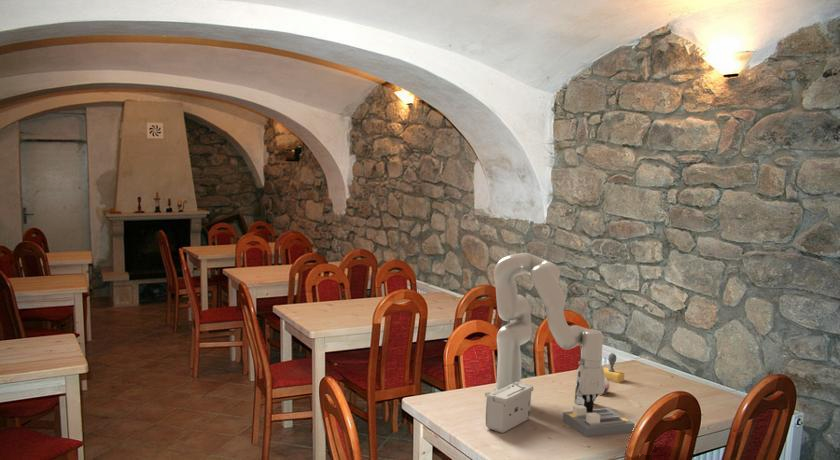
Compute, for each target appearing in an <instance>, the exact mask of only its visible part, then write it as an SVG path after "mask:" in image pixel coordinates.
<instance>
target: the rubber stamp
mask: <svg viewBox="0 0 840 460" xmlns="http://www.w3.org/2000/svg"><path fill="white" fill-rule="evenodd" d="M616 361H617V355H616V354H615V353H610V354H608V363H609V365H610V367H609V368H608V367H603V369H604V376H605V378H606V379H607V380H608V381H611V382H613V381H614V383H618V384H619V383H621V382H623V381H624V382H625V372H623V371H619V370H616V369H614V366H615V363H616Z"/></svg>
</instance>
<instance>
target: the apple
mask: <svg viewBox="0 0 840 460" xmlns="http://www.w3.org/2000/svg"><path fill="white" fill-rule="evenodd" d="M609 381H610V380H607V379H606V378H605V390H604V392H603V393H602V395H604V394H606V393H607V392H609V390H610V382H609Z"/></svg>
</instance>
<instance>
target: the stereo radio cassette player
mask: <svg viewBox="0 0 840 460" xmlns="http://www.w3.org/2000/svg"><path fill="white" fill-rule="evenodd" d="M505 380H507V379H506V378H505ZM507 381H509V380H507ZM509 382H511V381H509ZM511 383H513V382H511ZM533 391H534V385H530V384H528V383H523V382H521V381H520V382H515V383H513V384H510V385H508V386H506V387H504V388H502V389H499V390H497V391H495V392H493V393H490V394H488V395H487V397H486V401H485V402H486V404H485V426H486V428H488V429H489V430H492V431H495V432H499V433H501V434H504V433H506V432H507V431H509V430H511V429H512V428H514V427H516V426H519V425H521V424H522V423H524V422H525V421H527V420H530V416H531V402H532V392H533Z"/></svg>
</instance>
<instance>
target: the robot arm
mask: <svg viewBox="0 0 840 460" xmlns="http://www.w3.org/2000/svg"><path fill="white" fill-rule="evenodd" d="M525 274H526V275H528V276H529V277H530V279H531V282H532V283H533V286H534V288H535V289H536V291H537V293H538V295H539V297H540V299H541V301H542V303H543V306H544V307H545V315H546V321H547V326H548V329H549V331H550V333H551V335H552V337H553V339H554V341H555V343H556V344H557V346H559V347H560V348H562V349H563V350H572V349H574V348H575V347H578V346H580V347H581V349H580V350H581V351H580V352H581V353H580V360H578V361H577V363H578V368H577V369H578V373H577V372H576V377H577V379H575V390H576V391H577V393H576V395H577V396H578V397H582V398H583V399H584V405H583V406H585V407H586V408H587V410H586V411H588V412H593V409H594V404H595V403H594V402H595V401H596V399H597V397H598V396H601V395H603V394H602V393H603V392H604V393H605V391H604V390H605V376H604V369H603V368H604V366H602V363H603V362H602V361H603V341H604V335H603V332H602V331H600V330H598V329H593V328H587V327H583V326H580V325H577V324H576V325H575V324H574V325H570V326H569V325H568V323H567V320H566V317H565V312H564V311H565V310H564V308H565V306H566V305H565V304H566V298H567V297H566V296H565V294H564V291H563V290H562V288H561V287H560V284H559V283H558V280H559V279H560V276H561V272H560V269H559V267H558V266H557V265H556V264H555V263H554V262H552V261H549V260H547V259H544V258H541V257H539V256H537V255H535V254H532V253H529V252H520V253H512V254H509V255H506V256H504V257H503V258H501V259H499V261H498V262H497V263H496V264H495V267H494V270H493V277H494V284H495V296H496V299H495V300H496V308H497V310H496V311H497V314H498V317H499V318H500V319H501V320H502V321H503V322H504V321H505V322H509V323H507V324H505V325H503V326H501V327H500V328H499V330H498V331H497V334H496V346H497V347H496V348H497V367H496V368H497V369H496V370H497V371H496V387H495V388H494V389H493V390H492V391H487V392H486V391H485V392H484V397H485V398H487V395H488V394H490V393H493V392H495V391H497V390H499V389H502V388H504V387H506V386H508V385H510V384H513V383H515V382H520V383H521V378H522V377H521V376H522V374H521V373H522V351H521V346H522V345H524V344H526V343H527V342H529V341H530V340H531V337H532V334H533V326H532V316H531V315H532V314H531V305H530V303H529V301H528V300H527V298H526V296H523V295H522V294H518V286H517V282H516V280H515V277H517V276H521V275H525ZM505 378H506V379H507V380H509V381H511V382H513V383H511V382H509V381H507V380H505Z"/></svg>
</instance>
